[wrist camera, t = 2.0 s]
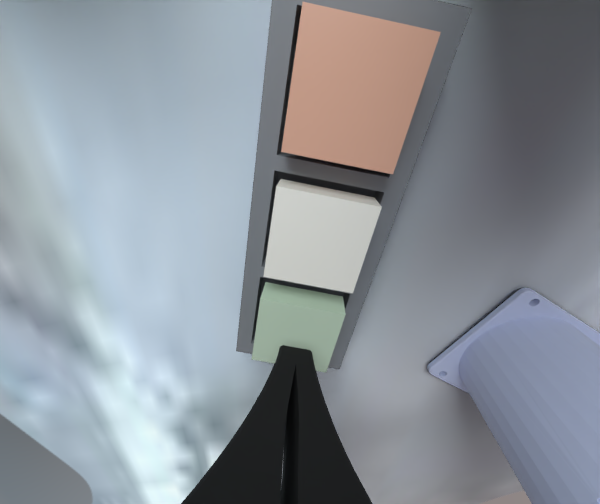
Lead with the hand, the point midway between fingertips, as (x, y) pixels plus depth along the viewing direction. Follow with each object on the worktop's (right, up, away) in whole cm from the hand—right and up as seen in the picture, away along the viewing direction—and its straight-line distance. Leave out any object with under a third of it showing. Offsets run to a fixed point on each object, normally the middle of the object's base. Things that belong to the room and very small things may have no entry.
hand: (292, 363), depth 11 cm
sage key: (0, +1, +3) cm, 3 cm away
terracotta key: (+2, +10, -2) cm, 11 cm away
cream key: (+1, +6, 0) cm, 6 cm away
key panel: (+1, +7, +2) cm, 7 cm away
